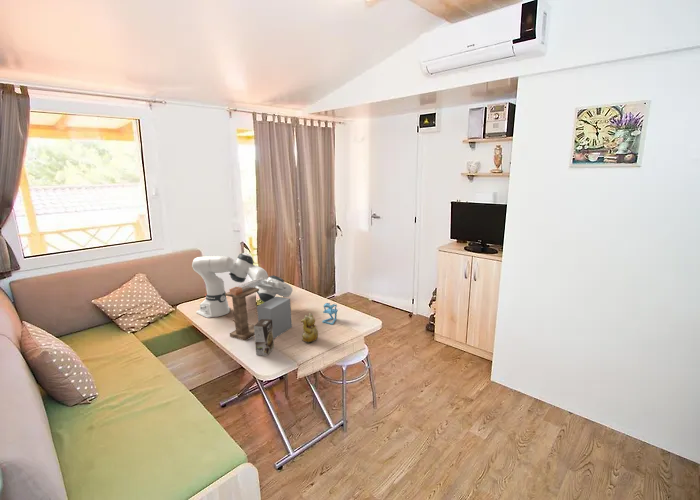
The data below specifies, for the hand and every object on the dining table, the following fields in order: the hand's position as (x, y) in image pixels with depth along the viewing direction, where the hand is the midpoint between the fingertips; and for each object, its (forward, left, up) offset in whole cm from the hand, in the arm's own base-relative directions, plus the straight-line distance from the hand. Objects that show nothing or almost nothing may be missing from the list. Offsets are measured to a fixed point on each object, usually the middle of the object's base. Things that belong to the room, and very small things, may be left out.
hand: (260, 281), depth 212 cm
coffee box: (+24, -26, -27) cm, 45 cm away
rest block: (+14, -6, -27) cm, 31 cm away
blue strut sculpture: (+36, +20, -27) cm, 49 cm away
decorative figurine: (+39, -6, -27) cm, 48 cm away
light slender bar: (0, -10, -1) cm, 10 cm away
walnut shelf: (0, -15, -27) cm, 31 cm away
